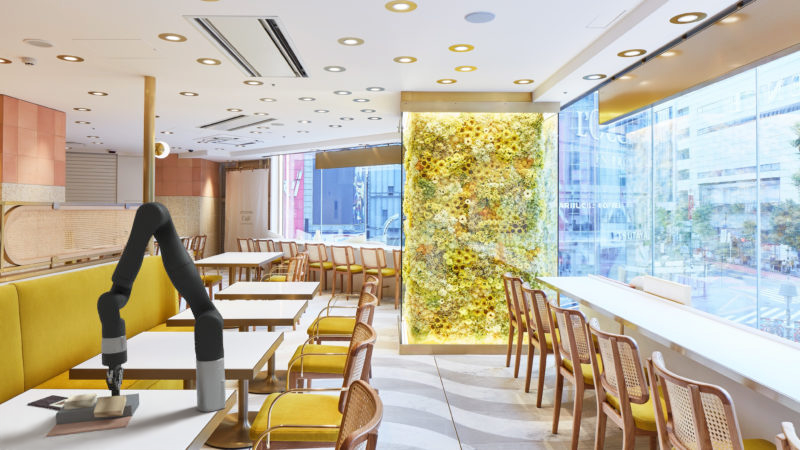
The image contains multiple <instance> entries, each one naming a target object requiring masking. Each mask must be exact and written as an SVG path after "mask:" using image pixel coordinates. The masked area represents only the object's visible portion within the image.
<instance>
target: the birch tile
mask: <svg viewBox="0 0 800 450" xmlns="http://www.w3.org/2000/svg"><path fill="white" fill-rule="evenodd" d="M67 398H68V399H67V400H66V401H65V402H64V410H66V409H75V408H84V407H92V406H93V405H94V404H95V402H96V401H97V398H98V393H97V392H95V393H86V394H77V395H70V396H68V397H67Z"/></svg>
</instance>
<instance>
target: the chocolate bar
mask: <svg viewBox="0 0 800 450" xmlns="http://www.w3.org/2000/svg"><path fill="white" fill-rule="evenodd" d="M68 398H69V397H68V396H67V397H66V396H61V395H56V394H55V395H54V394H52V395H49V396H46V397H44V398H40V399H37V400H35V401H34V400H33V401H31V402H27V406H32V407H38V408H42V407H43V408H44V409H48V408H49V409H50V410H55V411H59V410H60V409H61V408H62V407H63V406H64V402H65V401H66V400H67V399H68Z"/></svg>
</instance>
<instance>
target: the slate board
mask: <svg viewBox="0 0 800 450" xmlns="http://www.w3.org/2000/svg"><path fill="white" fill-rule="evenodd" d="M124 395H125V396H126V400H127V401H126V404H125V407H124V411H123V414H122V415H121V416H108V417H95V416H94V410H95V407H96V404H97V401H98V398H99V397H97V401H96V402H95V404H94V405H93V406H92V407H84V408H75V409H66V410H64V406H63V407H62V408H61V409H60V410H57V412H56V413H55V425H60V424H69V423H77V422H86V421H95V420H104V419H112V418H121V417H130V416H131V418H132V417H133V416H134V414H135V412H136V411H137V409H139V408H138V407H139V406H140V394H139V393H131V394H130V393H129V394H120V396H124Z"/></svg>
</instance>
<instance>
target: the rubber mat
mask: <svg viewBox="0 0 800 450" xmlns="http://www.w3.org/2000/svg"><path fill="white" fill-rule="evenodd" d="M131 419H132V417H131V416H130V417H121V418H112V419H104V420H95V421H86V422H77V423H69V424H60V425H56V424H55V425H54V426H53V427H52V428H51V429H50V431H49V432H47V433H46V435H45V437H47V438H48V437H56V436H64V435H65V436H66V435H74V434H79V433H80V434H81V433H87V432H88V433H90V432H99V431H106V430H115V429H122V428H126V427H127V426H128V425H129V423H130V421H131Z"/></svg>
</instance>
